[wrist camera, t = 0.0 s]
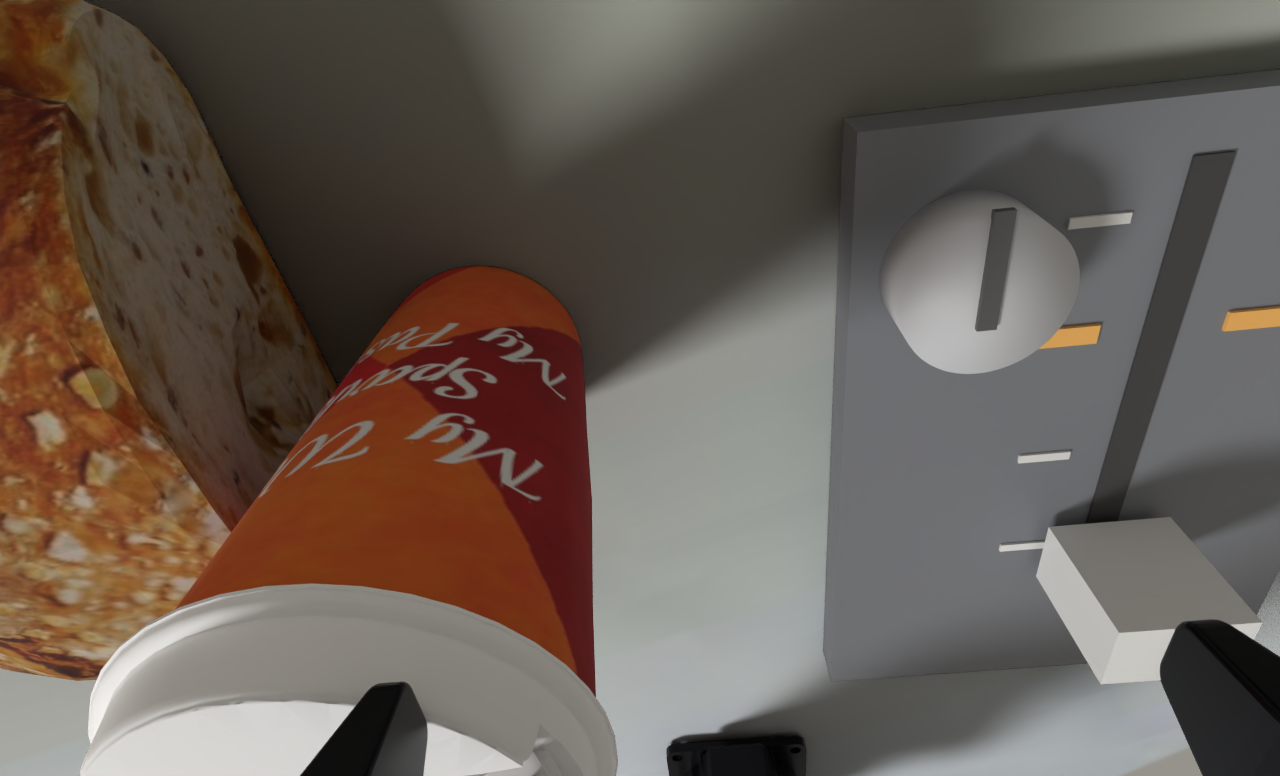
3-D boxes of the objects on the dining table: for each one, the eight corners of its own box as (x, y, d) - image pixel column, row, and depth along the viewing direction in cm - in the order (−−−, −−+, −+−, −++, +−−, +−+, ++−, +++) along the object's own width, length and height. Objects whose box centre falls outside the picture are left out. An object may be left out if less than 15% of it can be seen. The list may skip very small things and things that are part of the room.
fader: (1151, 568, 26) (1239, 681, 23) (1035, 577, 27) (1103, 691, 23) (1170, 515, 25) (1268, 626, 21) (1049, 526, 25) (1123, 637, 21)
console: (1212, 622, 31) (1276, 701, 28) (823, 650, 32) (843, 730, 29) (1478, 47, 19) (1640, 74, 16) (843, 118, 20) (881, 156, 17)
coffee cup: (567, 191, 21) (488, 613, 8) (649, 421, 25) (679, 931, 13) (299, 273, 22) (-130, 755, 9) (421, 480, 26) (237, 1003, 14)
